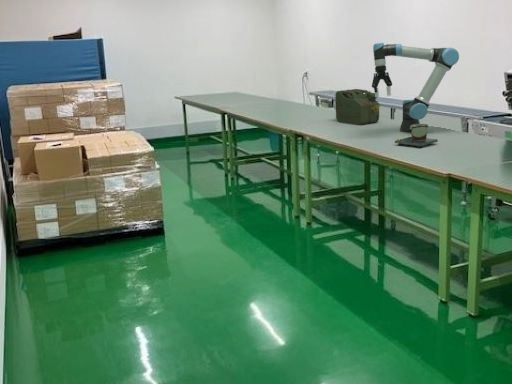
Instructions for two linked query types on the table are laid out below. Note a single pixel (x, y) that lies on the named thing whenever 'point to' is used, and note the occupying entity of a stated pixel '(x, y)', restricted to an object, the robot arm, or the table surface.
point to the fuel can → (356, 107)
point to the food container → (419, 132)
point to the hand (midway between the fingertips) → (383, 96)
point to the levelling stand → (415, 142)
